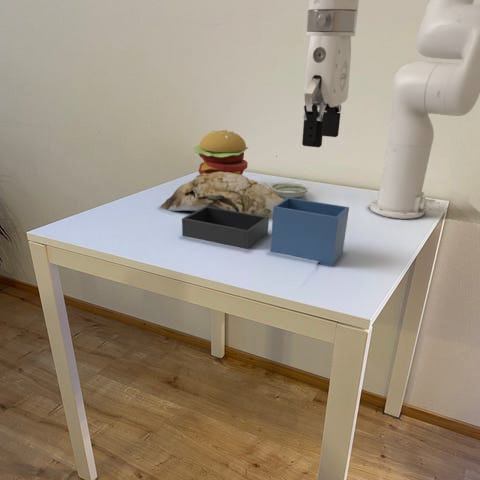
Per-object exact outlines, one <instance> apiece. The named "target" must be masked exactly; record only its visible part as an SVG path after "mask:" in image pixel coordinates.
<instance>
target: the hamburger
mask: <svg viewBox="0 0 480 480" xmlns="http://www.w3.org/2000/svg"><path fill="white" fill-rule="evenodd" d="M193 149H194V152H195V154H198V156H199V157H200V158H201V159H202V161H203V162H201V163H200V164H199V169H198V174H202V173H206V174H210V173H214V172H230V173H235V174H239V175H243V173H244V172H245V170H246V169H247V168H248V165H249V163H248V161H247V160H246V159H244V158H245V151H246V150H248V149H249V147H247V145H246V141H245V140H244V138H243V137H242V136H241V135H239V134H238V133H236V132H234V131H229V130H227V129H219V130H212V131H210V132H209V133H207V134H205V135H204V136H203V137H202V138H201V140H200V141H199V145H196V146H194V148H193Z"/></svg>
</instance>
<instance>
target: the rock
mask: <svg viewBox="0 0 480 480" xmlns="http://www.w3.org/2000/svg"><path fill="white" fill-rule="evenodd" d="M283 200H285V199H284V198H281V197H279V195H277V194H276V193H275V192H274V191H272V190H271V188H269V187H268V186H265V185H264V184H261V183H259V182H258V181H255V180H252V179H250V178H248V177H247V176H245V175H243V174H242V175H239V174H235V173H230V172H214V173H210V174H206V173H202V174H200V173H198V174H197V175H196V177H195V178H194V179H193V180H191V181H188V182H186V183H184V184H182V185H180V186H179V187H178V188H177V189H176V190H175V191H174V192H173V194H172V195H171V196H170V197H169V198H167V199H166V200H165V202H163V203H162V204H161V205H160V208H161V209H164V210H166V211H169V212H181V211H185V212H187V211H189V212H196V211H198V210H200V209H201V208H203V207H205V206H208V207H214V208H219V209H225V210H231V211H236V212H242V213H247V214H253V215H259V216H264V217H269V219H273V207H274V206H276V205H277V204H279V203H280V202H282V201H283Z"/></svg>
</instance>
